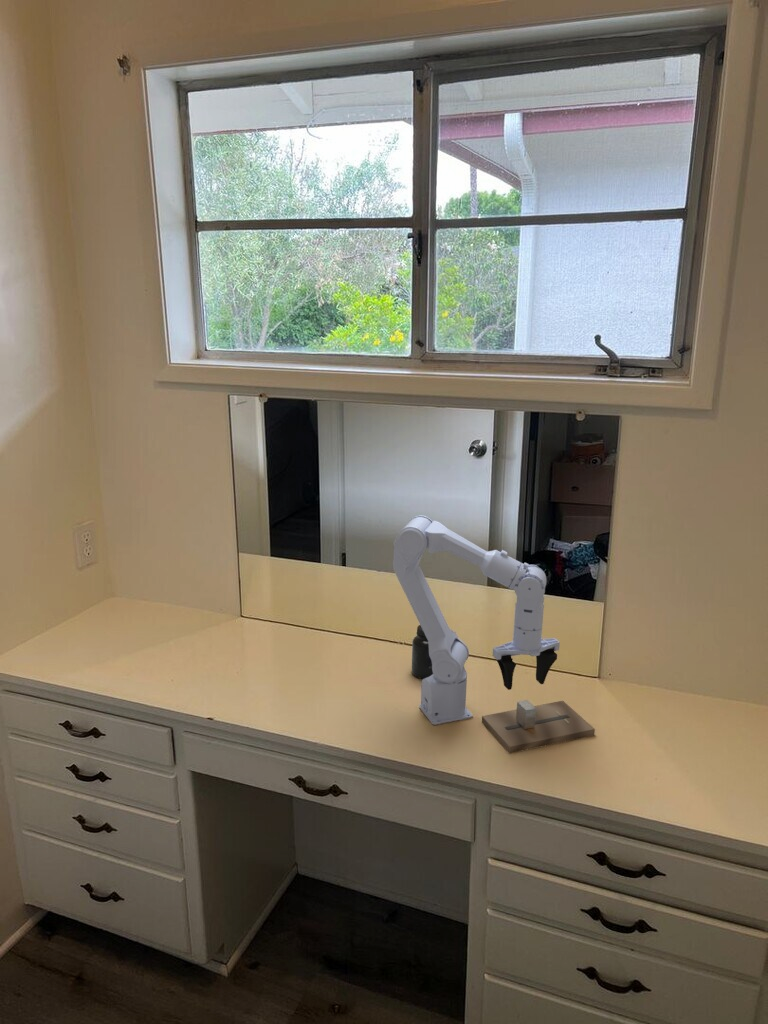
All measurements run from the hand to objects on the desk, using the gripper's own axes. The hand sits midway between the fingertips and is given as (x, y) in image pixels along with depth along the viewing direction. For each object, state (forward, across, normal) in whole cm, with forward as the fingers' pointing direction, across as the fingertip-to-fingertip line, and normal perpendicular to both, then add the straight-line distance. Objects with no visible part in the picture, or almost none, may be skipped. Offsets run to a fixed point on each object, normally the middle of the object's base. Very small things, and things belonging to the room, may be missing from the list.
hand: (523, 684), depth 156 cm
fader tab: (+8, -1, -3) cm, 8 cm away
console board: (+9, +2, -3) cm, 10 cm away
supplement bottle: (+10, -11, +27) cm, 31 cm away
